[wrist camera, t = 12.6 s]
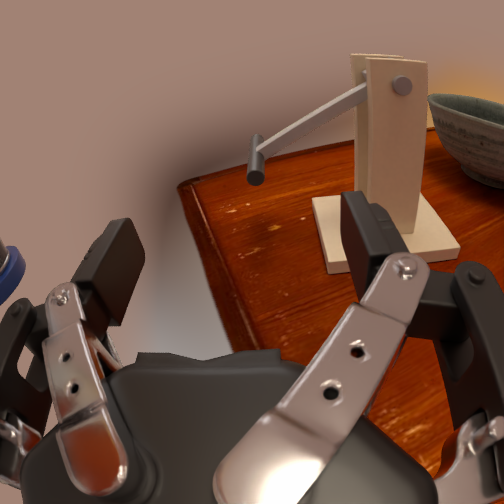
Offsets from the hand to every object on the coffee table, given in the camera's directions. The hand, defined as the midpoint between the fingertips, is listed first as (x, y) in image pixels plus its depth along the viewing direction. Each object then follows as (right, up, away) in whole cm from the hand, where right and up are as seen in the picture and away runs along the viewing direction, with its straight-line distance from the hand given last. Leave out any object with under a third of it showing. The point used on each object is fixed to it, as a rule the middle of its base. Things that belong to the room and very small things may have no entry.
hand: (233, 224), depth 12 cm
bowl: (+34, +10, +22) cm, 42 cm away
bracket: (+13, +1, +16) cm, 21 cm away
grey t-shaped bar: (+7, +8, +10) cm, 15 cm away
